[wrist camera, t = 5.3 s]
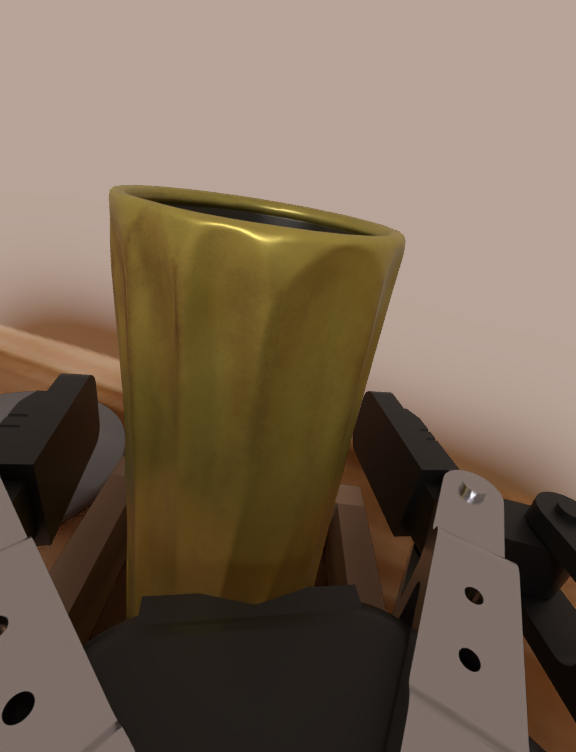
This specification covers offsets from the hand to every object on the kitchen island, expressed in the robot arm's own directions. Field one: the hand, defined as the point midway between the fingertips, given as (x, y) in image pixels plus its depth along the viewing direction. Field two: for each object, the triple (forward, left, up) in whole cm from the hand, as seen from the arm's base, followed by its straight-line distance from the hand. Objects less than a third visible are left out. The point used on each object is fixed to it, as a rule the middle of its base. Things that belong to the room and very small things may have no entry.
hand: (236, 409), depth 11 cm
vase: (0, -2, -9) cm, 9 cm away
